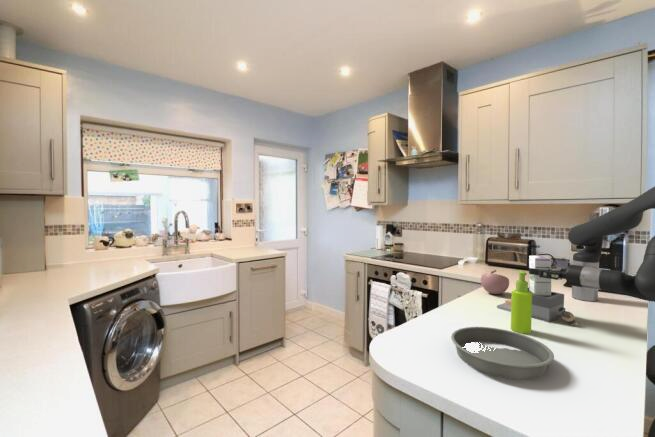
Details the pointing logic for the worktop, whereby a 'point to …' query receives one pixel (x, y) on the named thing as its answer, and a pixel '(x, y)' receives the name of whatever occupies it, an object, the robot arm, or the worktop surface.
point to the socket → (542, 306)
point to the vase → (568, 316)
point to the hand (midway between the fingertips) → (534, 269)
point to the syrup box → (535, 282)
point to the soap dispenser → (521, 306)
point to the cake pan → (503, 353)
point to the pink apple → (494, 283)
